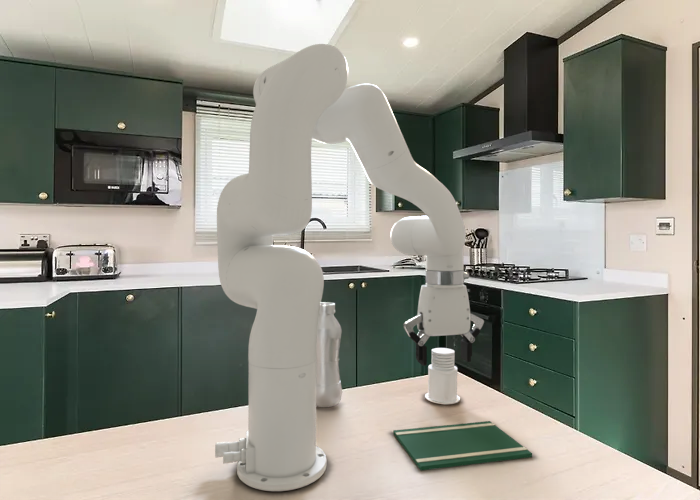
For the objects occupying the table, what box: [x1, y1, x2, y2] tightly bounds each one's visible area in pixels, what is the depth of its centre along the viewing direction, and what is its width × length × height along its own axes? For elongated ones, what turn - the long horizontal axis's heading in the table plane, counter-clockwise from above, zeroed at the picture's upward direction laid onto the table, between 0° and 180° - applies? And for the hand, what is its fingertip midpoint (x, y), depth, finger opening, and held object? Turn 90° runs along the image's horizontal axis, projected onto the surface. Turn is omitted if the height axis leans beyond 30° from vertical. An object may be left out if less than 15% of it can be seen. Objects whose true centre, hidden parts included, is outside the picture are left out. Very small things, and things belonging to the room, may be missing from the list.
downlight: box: [424, 347, 461, 406], centre depth 90 cm, size 8×7×10 cm
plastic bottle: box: [316, 301, 343, 408], centre depth 86 cm, size 6×7×20 cm
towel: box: [392, 420, 533, 471], centre depth 70 cm, size 18×12×1 cm, turn 103°
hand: (444, 362), depth 90 cm, fingers open, 9 cm apart
